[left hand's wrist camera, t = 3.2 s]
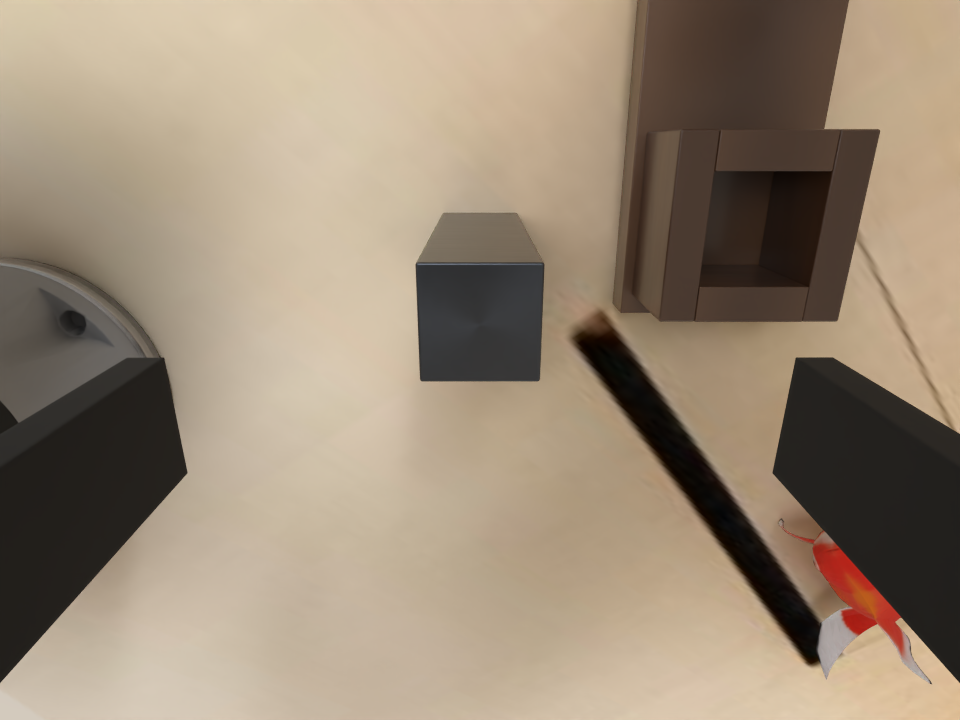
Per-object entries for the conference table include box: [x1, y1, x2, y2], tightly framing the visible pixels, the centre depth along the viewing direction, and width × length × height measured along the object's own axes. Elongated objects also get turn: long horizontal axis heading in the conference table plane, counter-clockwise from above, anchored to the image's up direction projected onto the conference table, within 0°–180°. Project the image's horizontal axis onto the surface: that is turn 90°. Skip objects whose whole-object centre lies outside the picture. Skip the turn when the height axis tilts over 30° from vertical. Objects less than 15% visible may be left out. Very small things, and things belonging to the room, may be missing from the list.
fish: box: [778, 519, 932, 684], centre depth 35 cm, size 11×16×10 cm
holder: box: [613, 0, 880, 322], centre depth 23 cm, size 9×26×12 cm, turn 0°
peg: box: [416, 213, 544, 381], centre depth 25 cm, size 4×4×14 cm
